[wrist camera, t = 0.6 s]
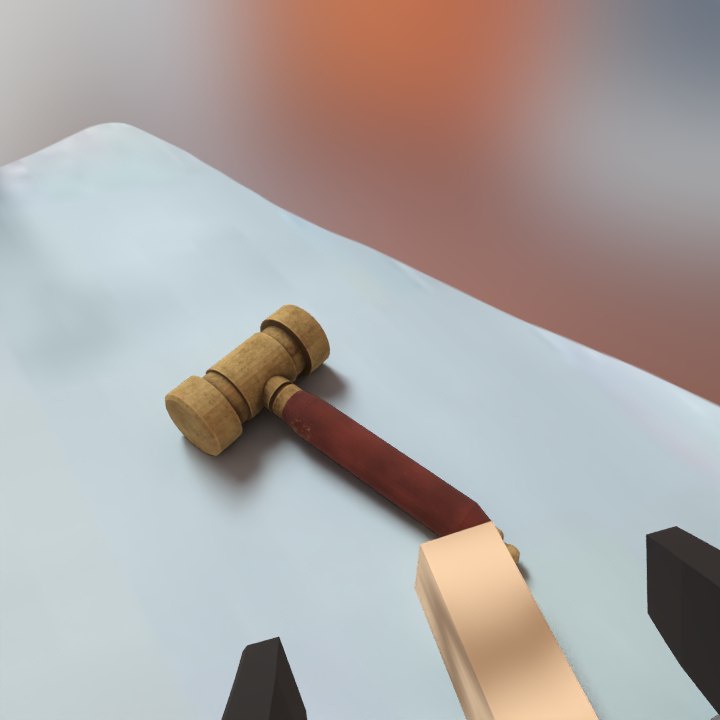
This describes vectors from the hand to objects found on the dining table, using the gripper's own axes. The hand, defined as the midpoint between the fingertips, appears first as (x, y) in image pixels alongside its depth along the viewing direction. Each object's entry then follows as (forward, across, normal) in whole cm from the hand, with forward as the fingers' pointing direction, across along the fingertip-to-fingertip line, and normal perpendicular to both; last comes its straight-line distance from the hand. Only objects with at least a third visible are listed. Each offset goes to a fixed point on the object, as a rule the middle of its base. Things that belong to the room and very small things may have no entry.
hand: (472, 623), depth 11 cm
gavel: (+22, +1, +10) cm, 24 cm away
